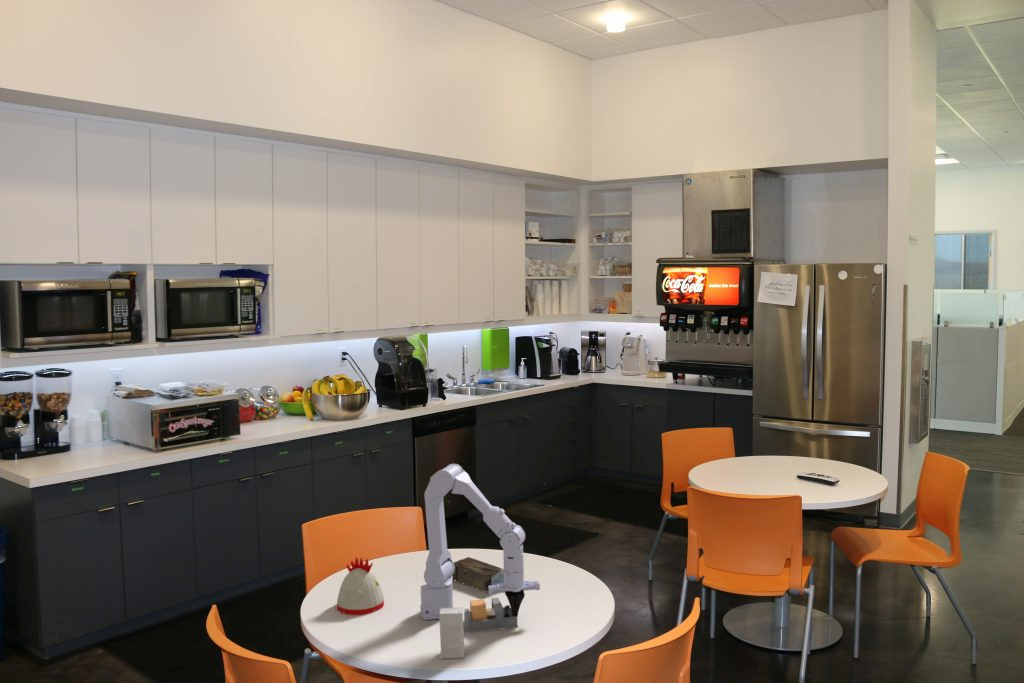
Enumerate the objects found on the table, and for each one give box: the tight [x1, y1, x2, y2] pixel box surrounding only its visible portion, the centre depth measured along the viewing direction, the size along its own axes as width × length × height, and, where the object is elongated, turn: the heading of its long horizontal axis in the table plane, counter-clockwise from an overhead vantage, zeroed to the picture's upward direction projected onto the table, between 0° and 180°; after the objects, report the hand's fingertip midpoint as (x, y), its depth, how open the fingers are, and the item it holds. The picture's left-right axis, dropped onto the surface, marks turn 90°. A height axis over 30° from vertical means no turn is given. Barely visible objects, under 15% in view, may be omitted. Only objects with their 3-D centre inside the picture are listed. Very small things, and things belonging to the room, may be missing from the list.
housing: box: [463, 597, 519, 633], centre depth 239 cm, size 14×8×6 cm, turn 101°
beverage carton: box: [451, 556, 504, 593], centre depth 271 cm, size 8×19×7 cm, turn 45°
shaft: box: [486, 604, 511, 619], centre depth 239 cm, size 7×4×4 cm, turn 101°
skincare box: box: [439, 606, 465, 659], centre depth 220 cm, size 6×4×12 cm
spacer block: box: [469, 599, 487, 621], centre depth 238 cm, size 4×4×6 cm
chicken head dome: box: [336, 557, 385, 616], centre depth 254 cm, size 14×14×15 cm
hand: (514, 616), depth 241 cm, fingers closed
